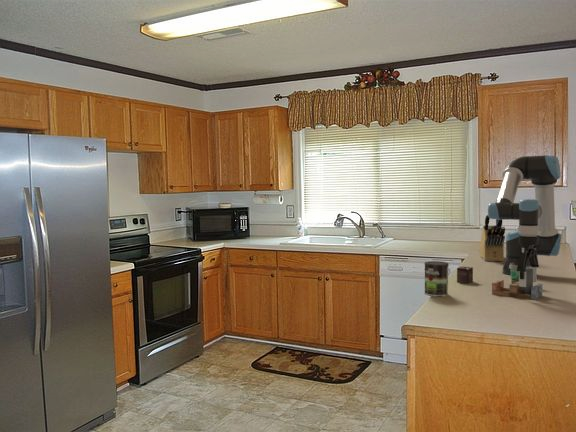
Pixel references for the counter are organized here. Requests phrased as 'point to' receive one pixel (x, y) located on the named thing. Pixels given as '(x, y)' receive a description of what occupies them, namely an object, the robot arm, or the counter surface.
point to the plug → (528, 281)
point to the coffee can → (436, 278)
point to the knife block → (492, 241)
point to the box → (465, 274)
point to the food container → (515, 272)
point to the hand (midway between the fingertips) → (527, 284)
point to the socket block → (516, 290)
